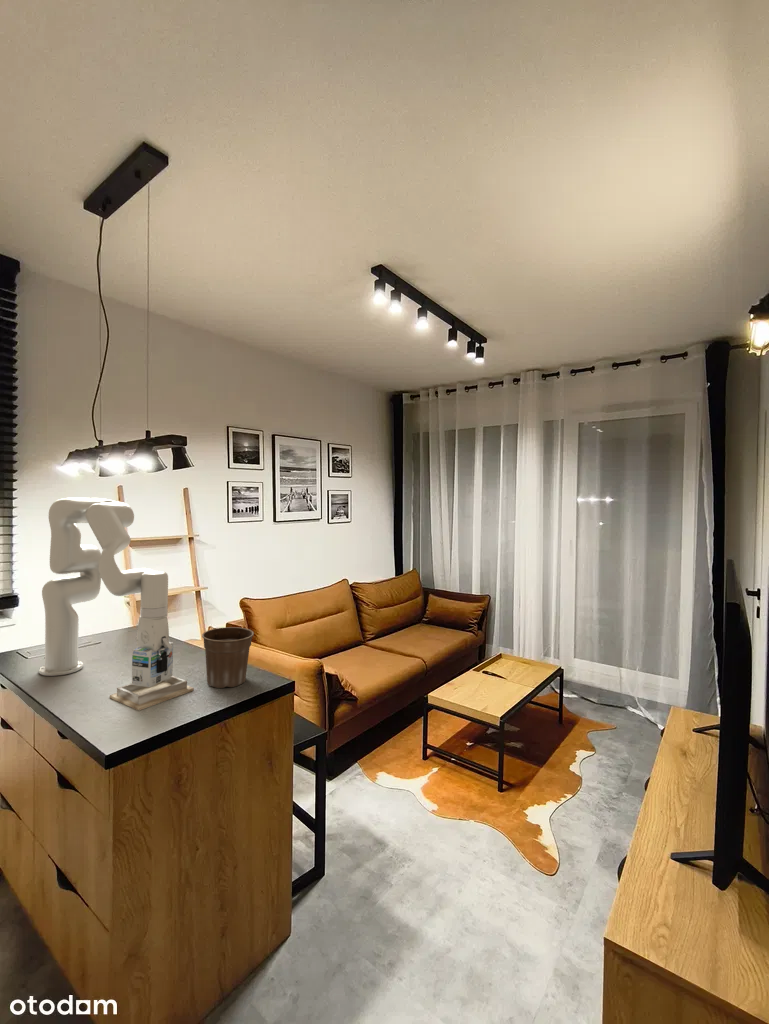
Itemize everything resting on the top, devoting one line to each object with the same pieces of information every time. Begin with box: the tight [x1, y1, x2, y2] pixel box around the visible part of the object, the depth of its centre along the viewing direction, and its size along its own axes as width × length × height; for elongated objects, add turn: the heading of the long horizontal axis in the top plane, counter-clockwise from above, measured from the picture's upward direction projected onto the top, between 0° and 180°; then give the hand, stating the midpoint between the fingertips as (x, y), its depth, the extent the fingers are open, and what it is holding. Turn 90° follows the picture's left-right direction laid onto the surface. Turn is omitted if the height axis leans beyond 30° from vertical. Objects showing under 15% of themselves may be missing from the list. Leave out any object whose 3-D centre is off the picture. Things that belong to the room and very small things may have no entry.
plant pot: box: [201, 626, 254, 689], centre depth 161 cm, size 16×16×16 cm
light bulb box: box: [131, 641, 174, 687], centre depth 149 cm, size 11×7×11 cm, turn 167°
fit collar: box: [109, 675, 195, 711], centre depth 149 cm, size 15×18×3 cm
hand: (153, 668), depth 149 cm, fingers closed on light bulb box, 8 cm apart
